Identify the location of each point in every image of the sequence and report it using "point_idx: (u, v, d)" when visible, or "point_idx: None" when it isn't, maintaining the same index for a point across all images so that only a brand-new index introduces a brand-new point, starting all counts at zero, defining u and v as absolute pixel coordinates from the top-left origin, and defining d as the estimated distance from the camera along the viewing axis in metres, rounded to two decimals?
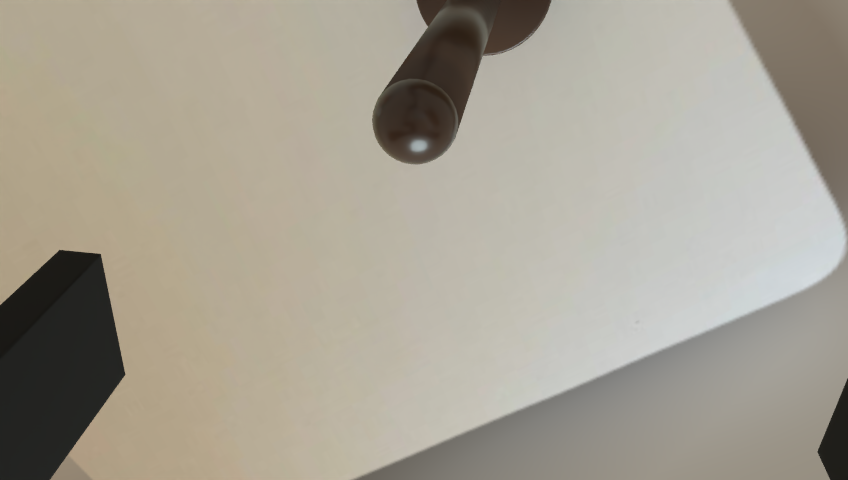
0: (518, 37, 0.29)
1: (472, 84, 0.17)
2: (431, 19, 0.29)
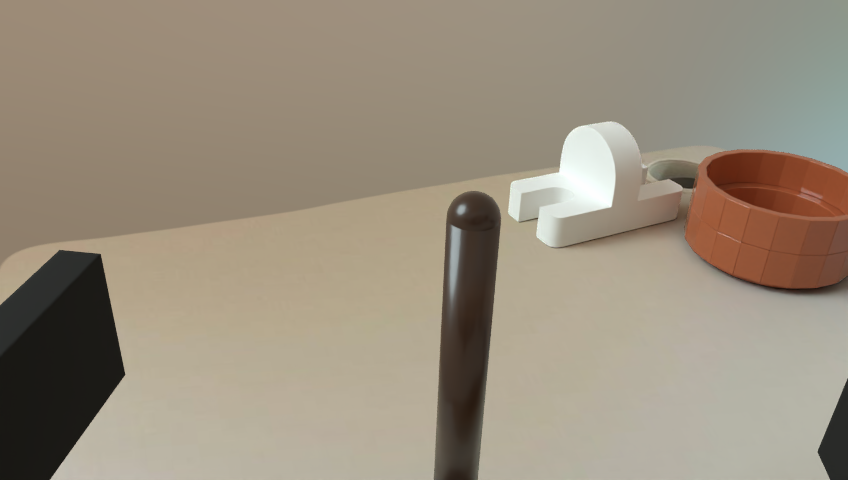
0: None
1: (460, 316, 0.23)
2: None
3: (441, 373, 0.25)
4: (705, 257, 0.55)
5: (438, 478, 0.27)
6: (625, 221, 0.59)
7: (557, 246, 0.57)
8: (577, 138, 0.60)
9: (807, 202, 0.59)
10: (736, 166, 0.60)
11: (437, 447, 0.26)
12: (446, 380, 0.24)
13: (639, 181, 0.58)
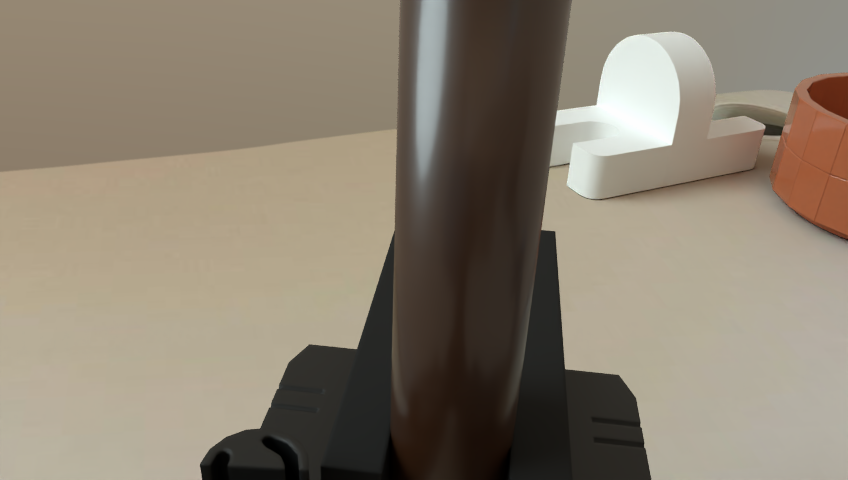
0: None
1: (448, 154, 0.07)
2: None
3: (396, 347, 0.09)
4: (807, 213, 0.39)
5: None
6: (688, 167, 0.44)
7: (596, 197, 0.41)
8: (624, 54, 0.44)
9: None
10: (841, 95, 0.44)
11: None
12: (409, 367, 0.09)
13: (711, 110, 0.42)
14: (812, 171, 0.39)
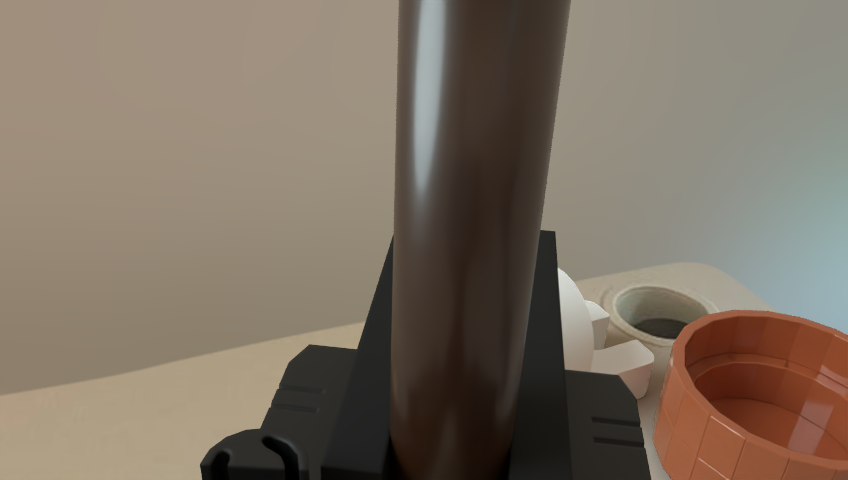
0: None
1: (447, 155, 0.07)
2: None
3: (395, 348, 0.09)
4: None
5: None
6: None
7: None
8: None
9: (829, 392, 0.41)
10: (729, 333, 0.43)
11: None
12: (408, 368, 0.09)
13: (590, 358, 0.41)
14: (682, 446, 0.37)
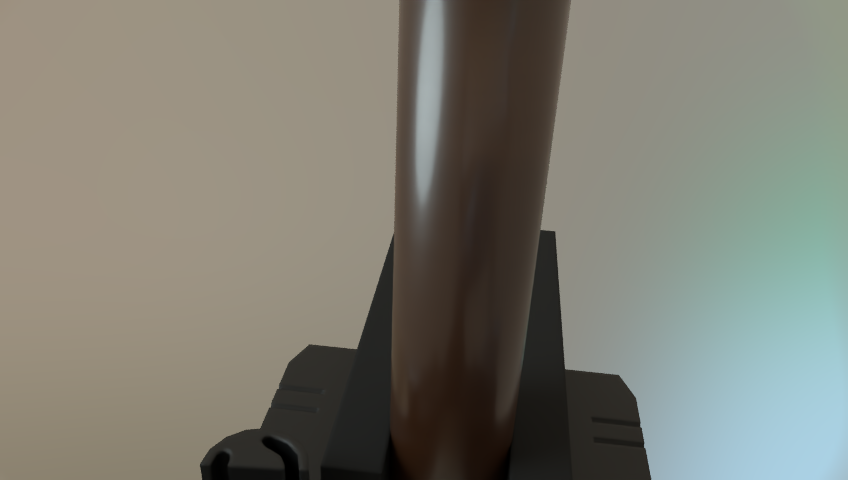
0: None
1: (448, 153, 0.07)
2: None
3: (395, 346, 0.09)
4: None
5: None
6: None
7: None
8: None
9: None
10: None
11: None
12: (408, 366, 0.09)
13: None
14: None
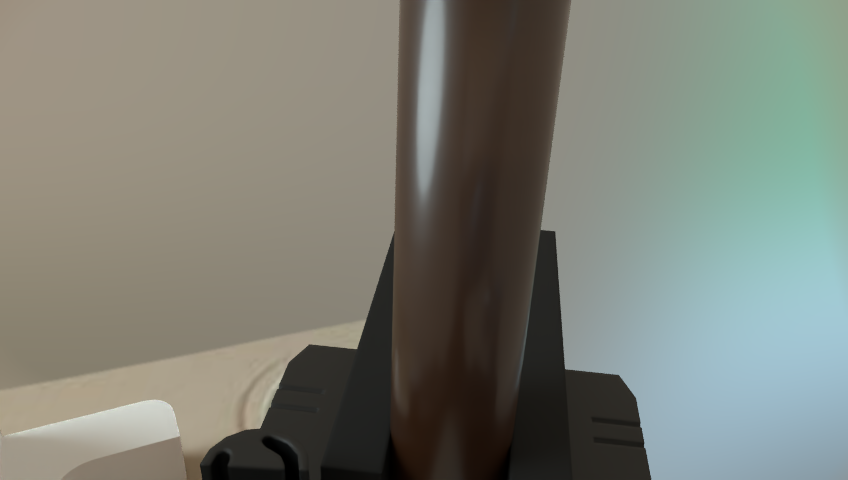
0: None
1: (448, 153, 0.07)
2: None
3: (396, 346, 0.09)
4: None
5: None
6: None
7: None
8: None
9: None
10: None
11: None
12: (409, 365, 0.09)
13: None
14: None
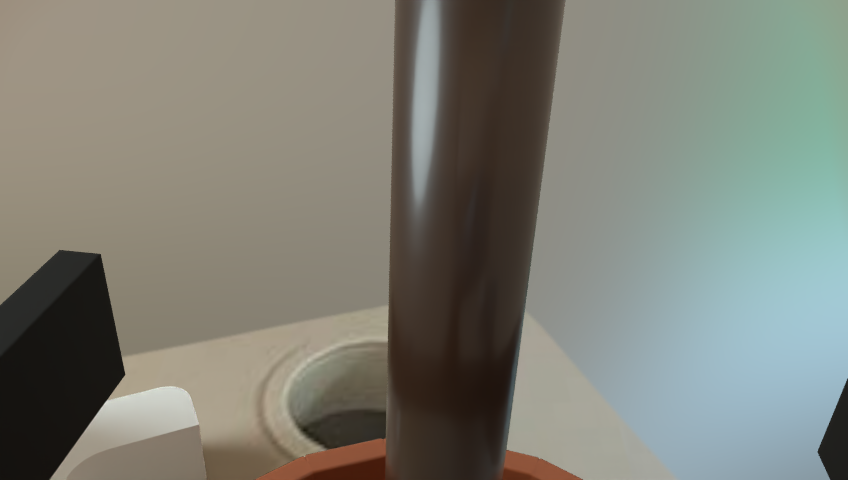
0: None
1: (441, 167, 0.07)
2: None
3: (391, 355, 0.09)
4: None
5: None
6: None
7: None
8: None
9: None
10: None
11: None
12: (404, 374, 0.09)
13: None
14: None
